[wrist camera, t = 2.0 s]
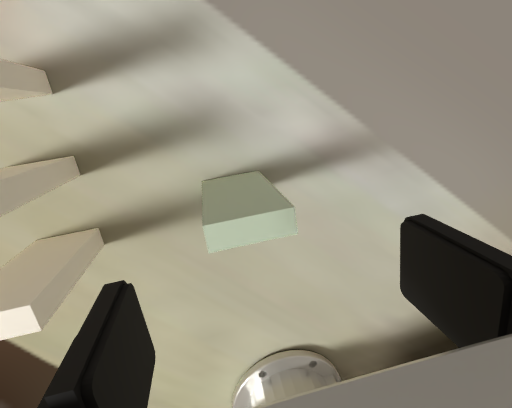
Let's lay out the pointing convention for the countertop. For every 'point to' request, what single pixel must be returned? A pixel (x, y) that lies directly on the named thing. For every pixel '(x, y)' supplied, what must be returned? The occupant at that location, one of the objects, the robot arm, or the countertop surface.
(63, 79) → the countertop surface
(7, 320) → the domino
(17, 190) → the domino
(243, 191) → the domino
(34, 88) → the domino
